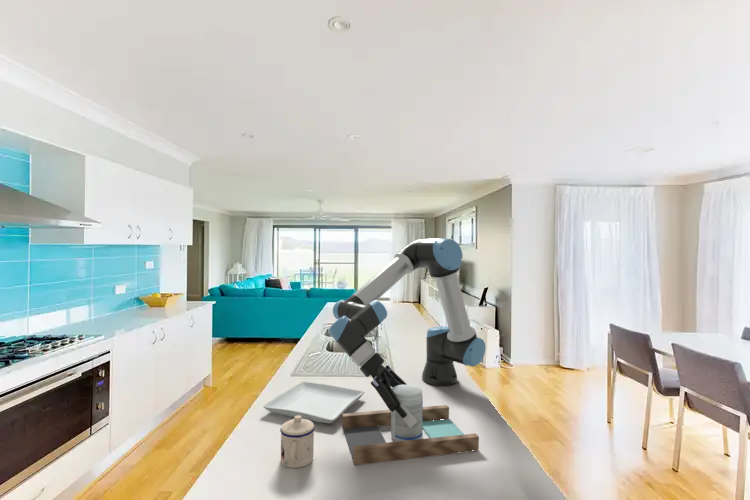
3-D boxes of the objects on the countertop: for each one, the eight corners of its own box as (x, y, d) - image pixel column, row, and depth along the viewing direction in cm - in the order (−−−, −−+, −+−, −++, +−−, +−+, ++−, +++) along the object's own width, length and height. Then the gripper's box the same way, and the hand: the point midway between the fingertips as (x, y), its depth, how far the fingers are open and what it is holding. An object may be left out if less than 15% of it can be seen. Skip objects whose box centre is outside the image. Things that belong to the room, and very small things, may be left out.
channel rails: (446, 416, 132) (446, 405, 132) (478, 450, 110) (478, 436, 110) (342, 426, 124) (342, 413, 123) (354, 464, 102) (354, 449, 102)
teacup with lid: (283, 450, 108) (284, 409, 108) (316, 450, 108) (316, 409, 108) (273, 476, 96) (274, 429, 96) (310, 476, 96) (310, 429, 96)
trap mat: (377, 426, 123) (377, 425, 123) (391, 455, 107) (391, 453, 107) (343, 430, 121) (343, 428, 121) (352, 459, 104) (352, 457, 104)
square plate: (333, 431, 121) (333, 419, 121) (260, 416, 130) (261, 405, 130) (365, 399, 146) (365, 389, 146) (302, 389, 156) (302, 379, 156)
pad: (449, 420, 129) (449, 418, 129) (473, 445, 112) (473, 444, 112) (418, 423, 127) (418, 421, 127) (438, 449, 110) (438, 448, 110)
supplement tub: (428, 440, 115) (429, 391, 115) (403, 449, 110) (404, 398, 110) (408, 427, 123) (409, 381, 123) (384, 435, 118) (385, 387, 118)
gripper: (370, 357, 132) (415, 410, 127) (346, 378, 110) (399, 442, 106) (385, 343, 130) (431, 396, 126) (364, 362, 109) (419, 426, 104)
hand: (416, 417), depth 116 cm, fingers closed on supplement tub, 9 cm apart
